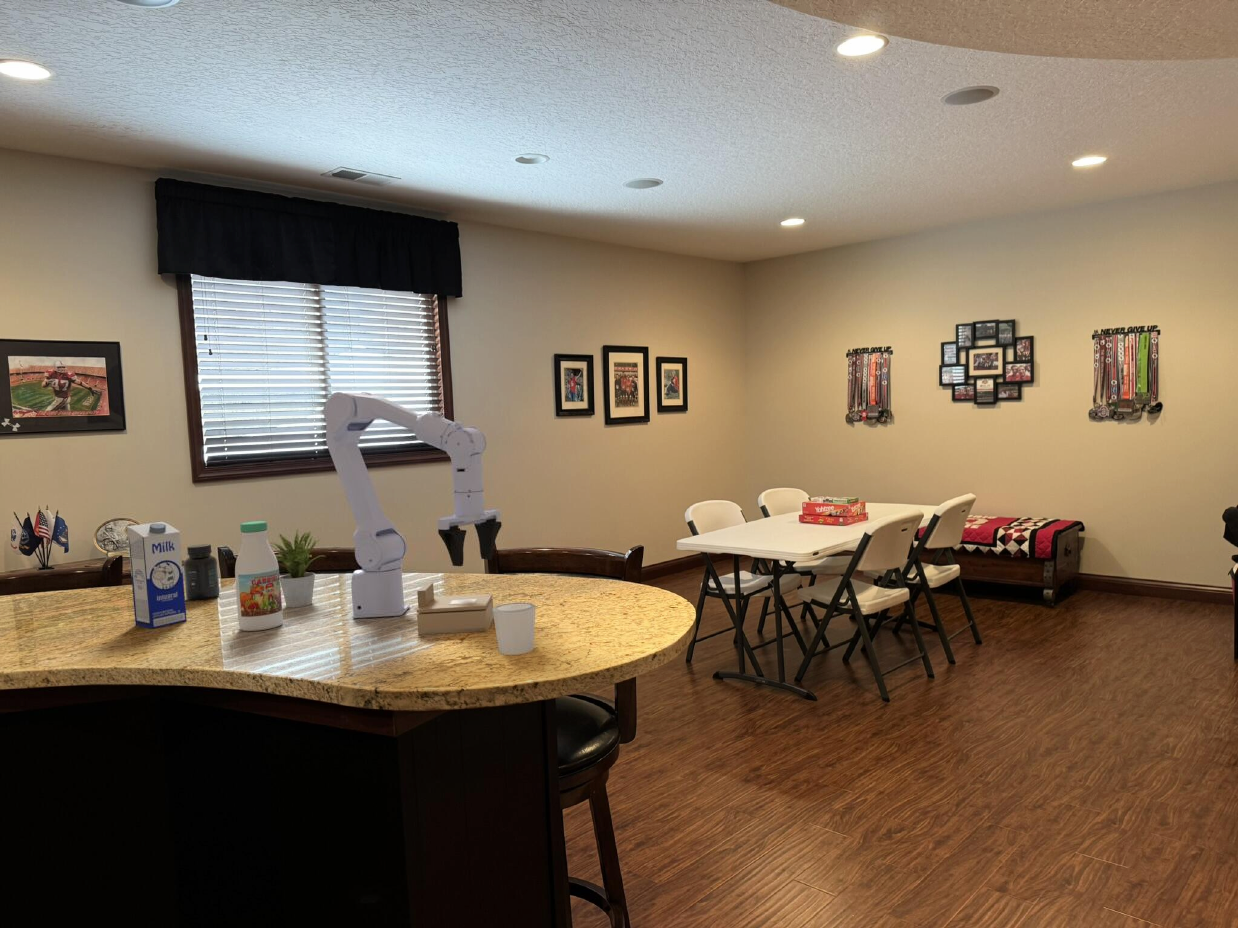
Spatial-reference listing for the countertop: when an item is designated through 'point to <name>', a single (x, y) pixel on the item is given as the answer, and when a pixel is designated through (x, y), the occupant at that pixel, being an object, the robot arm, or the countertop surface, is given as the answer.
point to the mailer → (455, 621)
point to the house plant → (297, 570)
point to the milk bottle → (257, 580)
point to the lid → (449, 601)
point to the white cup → (515, 627)
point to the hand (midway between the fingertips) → (472, 562)
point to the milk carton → (156, 575)
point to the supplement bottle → (201, 573)
